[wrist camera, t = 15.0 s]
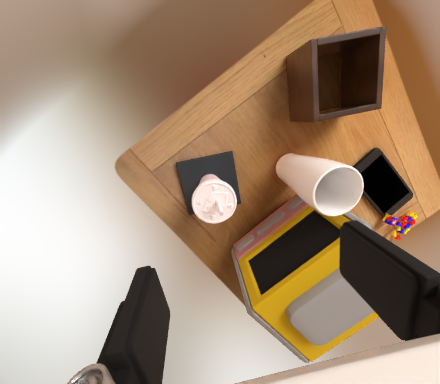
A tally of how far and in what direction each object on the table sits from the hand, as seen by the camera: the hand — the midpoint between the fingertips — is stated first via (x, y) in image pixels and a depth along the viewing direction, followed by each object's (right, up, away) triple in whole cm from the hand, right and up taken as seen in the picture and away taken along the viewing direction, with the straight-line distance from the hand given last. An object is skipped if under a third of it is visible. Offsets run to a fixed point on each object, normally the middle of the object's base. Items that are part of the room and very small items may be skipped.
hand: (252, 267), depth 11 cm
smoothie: (-3, +5, +29) cm, 29 cm away
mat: (-4, +5, +29) cm, 30 cm away
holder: (+15, +22, +26) cm, 37 cm away
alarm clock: (+12, -6, +35) cm, 37 cm away
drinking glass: (+11, +9, +30) cm, 33 cm away
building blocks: (+37, -3, +35) cm, 51 cm away
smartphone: (+30, +5, +33) cm, 45 cm away
